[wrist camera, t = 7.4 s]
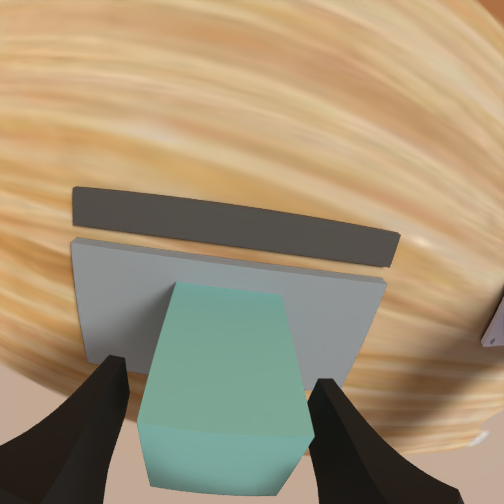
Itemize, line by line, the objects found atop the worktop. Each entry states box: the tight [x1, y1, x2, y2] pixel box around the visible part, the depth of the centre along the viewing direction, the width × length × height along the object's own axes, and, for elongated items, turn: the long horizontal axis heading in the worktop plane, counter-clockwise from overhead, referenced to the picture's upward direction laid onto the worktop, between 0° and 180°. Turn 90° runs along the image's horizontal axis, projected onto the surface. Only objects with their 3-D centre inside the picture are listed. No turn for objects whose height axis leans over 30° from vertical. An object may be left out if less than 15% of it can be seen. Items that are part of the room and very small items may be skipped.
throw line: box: [73, 186, 401, 268], centre depth 12 cm, size 14×2×1 cm, turn 80°
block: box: [137, 282, 315, 496], centre depth 11 cm, size 4×4×7 cm
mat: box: [71, 237, 387, 390], centre depth 14 cm, size 14×7×1 cm, turn 80°
